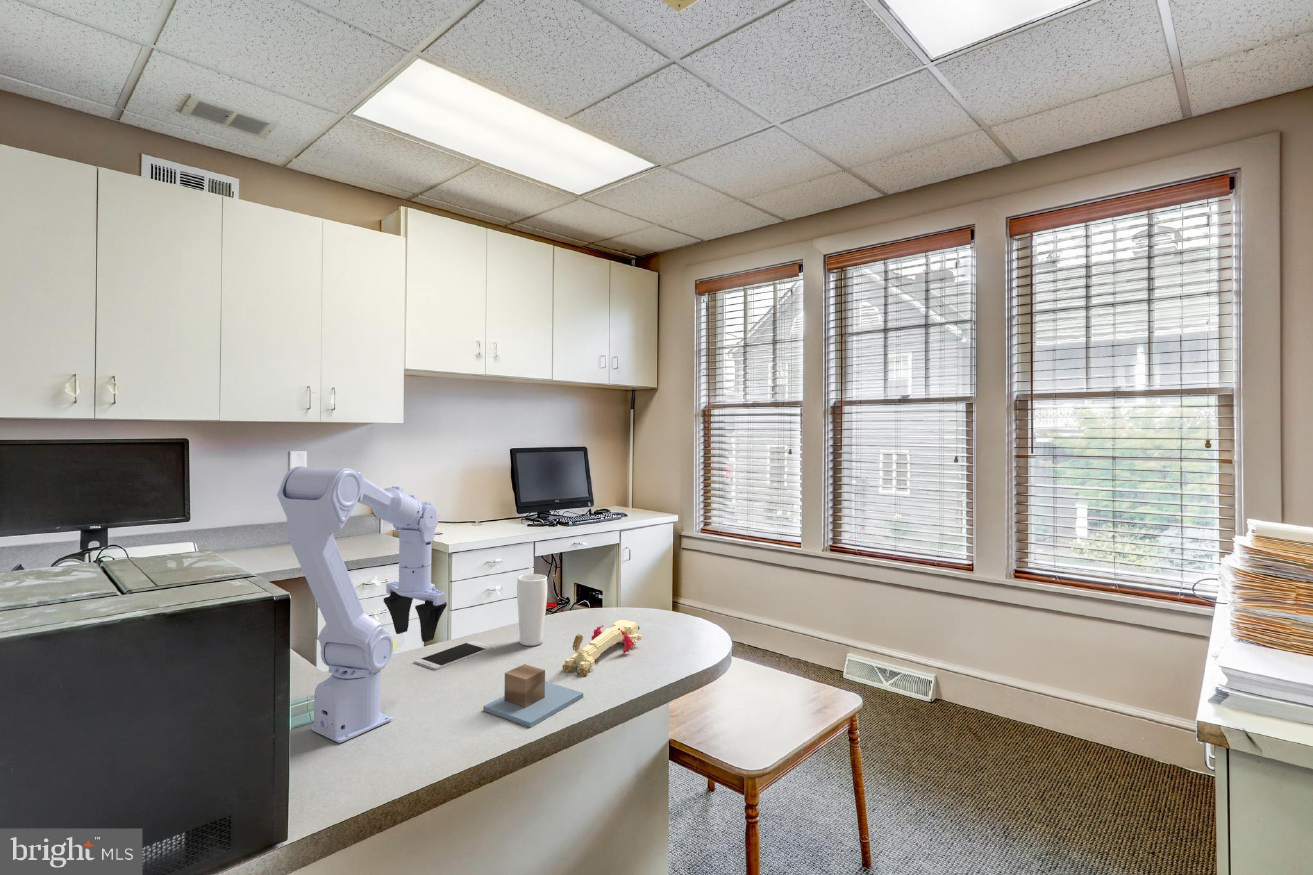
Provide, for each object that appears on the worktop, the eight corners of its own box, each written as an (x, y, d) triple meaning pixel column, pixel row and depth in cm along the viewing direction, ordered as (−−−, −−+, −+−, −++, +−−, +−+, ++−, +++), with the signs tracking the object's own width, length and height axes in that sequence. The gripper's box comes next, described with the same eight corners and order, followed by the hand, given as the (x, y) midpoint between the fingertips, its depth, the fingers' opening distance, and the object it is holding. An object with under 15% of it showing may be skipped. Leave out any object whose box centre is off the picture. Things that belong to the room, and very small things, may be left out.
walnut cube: (525, 707, 111) (525, 679, 110) (504, 700, 113) (504, 672, 113) (544, 697, 115) (545, 670, 115) (524, 690, 117) (524, 664, 117)
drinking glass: (513, 639, 147) (514, 575, 146) (542, 636, 150) (543, 572, 149) (520, 649, 141) (520, 582, 140) (550, 645, 143) (551, 579, 143)
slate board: (530, 727, 105) (530, 722, 105) (483, 710, 111) (483, 706, 111) (583, 697, 117) (583, 692, 117) (538, 683, 123) (538, 679, 123)
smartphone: (494, 650, 141) (494, 646, 141) (435, 672, 128) (435, 667, 128) (472, 643, 145) (472, 639, 145) (413, 664, 132) (413, 660, 132)
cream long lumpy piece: (595, 685, 126) (652, 638, 148) (594, 643, 125) (651, 601, 147) (554, 675, 130) (615, 631, 153) (552, 634, 130) (614, 595, 152)
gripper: (458, 566, 120) (457, 637, 120) (408, 556, 127) (407, 623, 128) (427, 573, 114) (426, 648, 114) (376, 562, 121) (376, 633, 122)
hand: (414, 636), depth 120 cm, fingers open, 7 cm apart
